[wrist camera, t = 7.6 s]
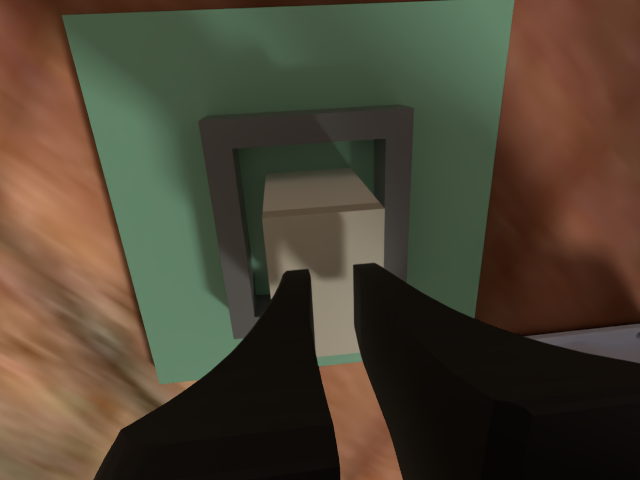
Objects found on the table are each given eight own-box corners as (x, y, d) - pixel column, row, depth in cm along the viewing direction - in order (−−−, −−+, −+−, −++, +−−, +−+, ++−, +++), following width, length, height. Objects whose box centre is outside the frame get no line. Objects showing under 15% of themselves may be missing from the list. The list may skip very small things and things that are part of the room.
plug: (350, 167, 16) (384, 208, 11) (352, 274, 18) (381, 350, 13) (265, 173, 16) (262, 218, 11) (276, 281, 18) (277, 361, 13)
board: (502, 1, 15) (545, -12, 13) (463, 340, 22) (487, 372, 19) (72, 18, 14) (31, 6, 12) (163, 372, 20) (149, 412, 18)
